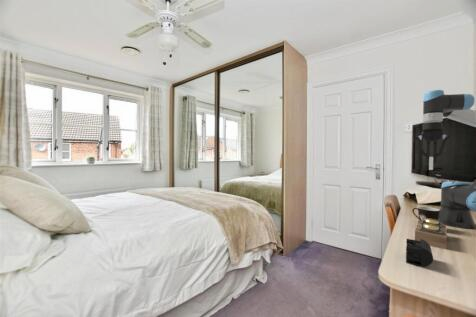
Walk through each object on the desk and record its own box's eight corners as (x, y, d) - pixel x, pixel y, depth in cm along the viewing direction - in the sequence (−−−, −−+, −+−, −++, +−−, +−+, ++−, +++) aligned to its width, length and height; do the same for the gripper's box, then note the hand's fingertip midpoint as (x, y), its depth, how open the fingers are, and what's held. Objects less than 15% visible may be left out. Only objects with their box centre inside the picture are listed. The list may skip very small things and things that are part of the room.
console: (418, 230, 111) (418, 218, 111) (445, 235, 104) (446, 222, 104) (414, 242, 96) (415, 228, 96) (446, 249, 90) (446, 234, 89)
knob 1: (424, 222, 108) (424, 217, 108) (438, 224, 104) (438, 219, 104) (424, 224, 104) (424, 219, 104) (438, 227, 101) (438, 222, 101)
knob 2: (423, 228, 100) (423, 222, 100) (438, 230, 96) (438, 225, 96) (422, 230, 96) (423, 225, 96) (438, 233, 93) (438, 228, 93)
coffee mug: (443, 231, 110) (444, 211, 110) (423, 230, 112) (424, 210, 112) (428, 223, 122) (428, 205, 121) (410, 222, 123) (411, 204, 123)
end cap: (432, 270, 74) (433, 250, 73) (406, 263, 78) (406, 244, 78) (430, 259, 81) (431, 240, 81) (406, 253, 86) (406, 236, 86)
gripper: (415, 122, 113) (413, 169, 113) (450, 120, 104) (449, 170, 105) (416, 124, 118) (414, 168, 119) (450, 122, 109) (448, 170, 110)
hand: (430, 169), depth 112 cm, fingers closed
